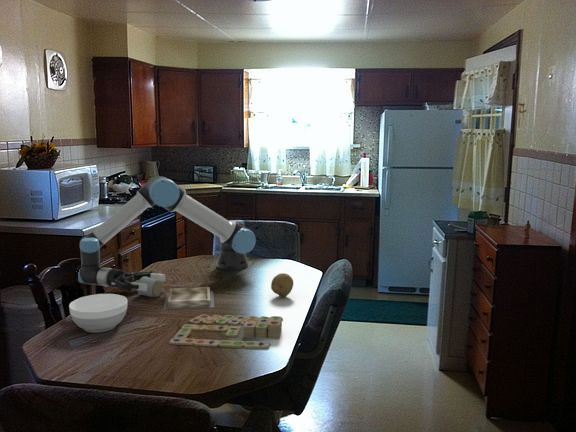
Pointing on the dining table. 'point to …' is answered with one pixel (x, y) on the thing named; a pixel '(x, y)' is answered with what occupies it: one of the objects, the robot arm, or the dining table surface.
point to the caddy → (189, 297)
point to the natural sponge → (282, 284)
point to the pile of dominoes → (232, 331)
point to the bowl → (98, 311)
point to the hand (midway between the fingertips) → (156, 282)
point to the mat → (190, 307)
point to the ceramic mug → (151, 287)
